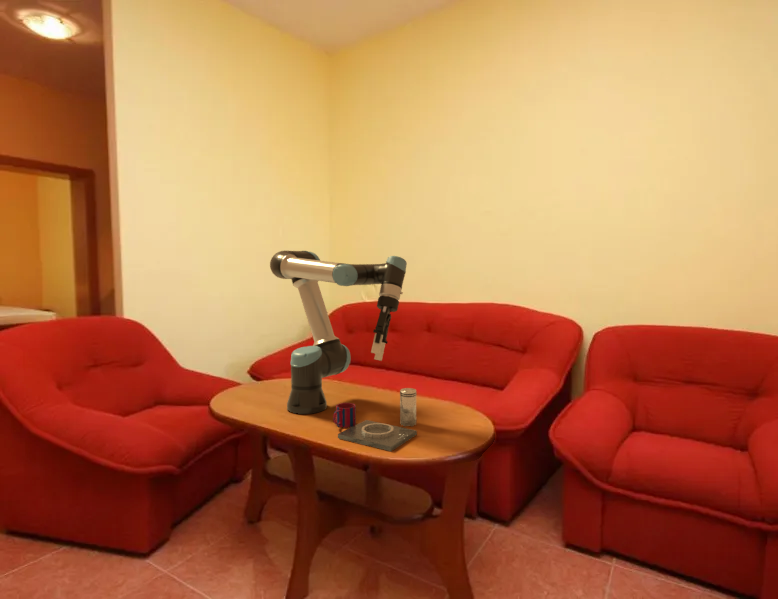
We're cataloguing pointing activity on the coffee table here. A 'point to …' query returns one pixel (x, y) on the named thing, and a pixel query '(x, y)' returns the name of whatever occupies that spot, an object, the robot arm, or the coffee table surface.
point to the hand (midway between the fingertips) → (376, 356)
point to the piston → (408, 406)
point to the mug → (345, 415)
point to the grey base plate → (377, 435)
